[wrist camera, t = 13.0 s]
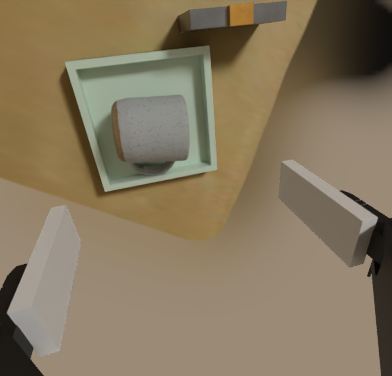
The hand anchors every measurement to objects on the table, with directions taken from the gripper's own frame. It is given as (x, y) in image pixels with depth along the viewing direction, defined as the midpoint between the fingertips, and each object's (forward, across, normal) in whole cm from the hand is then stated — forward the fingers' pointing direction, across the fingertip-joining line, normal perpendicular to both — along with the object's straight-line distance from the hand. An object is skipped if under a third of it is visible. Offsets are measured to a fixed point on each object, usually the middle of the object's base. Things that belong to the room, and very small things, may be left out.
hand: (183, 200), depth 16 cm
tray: (+21, 0, 0) cm, 21 cm away
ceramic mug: (+21, 0, -2) cm, 21 cm away
